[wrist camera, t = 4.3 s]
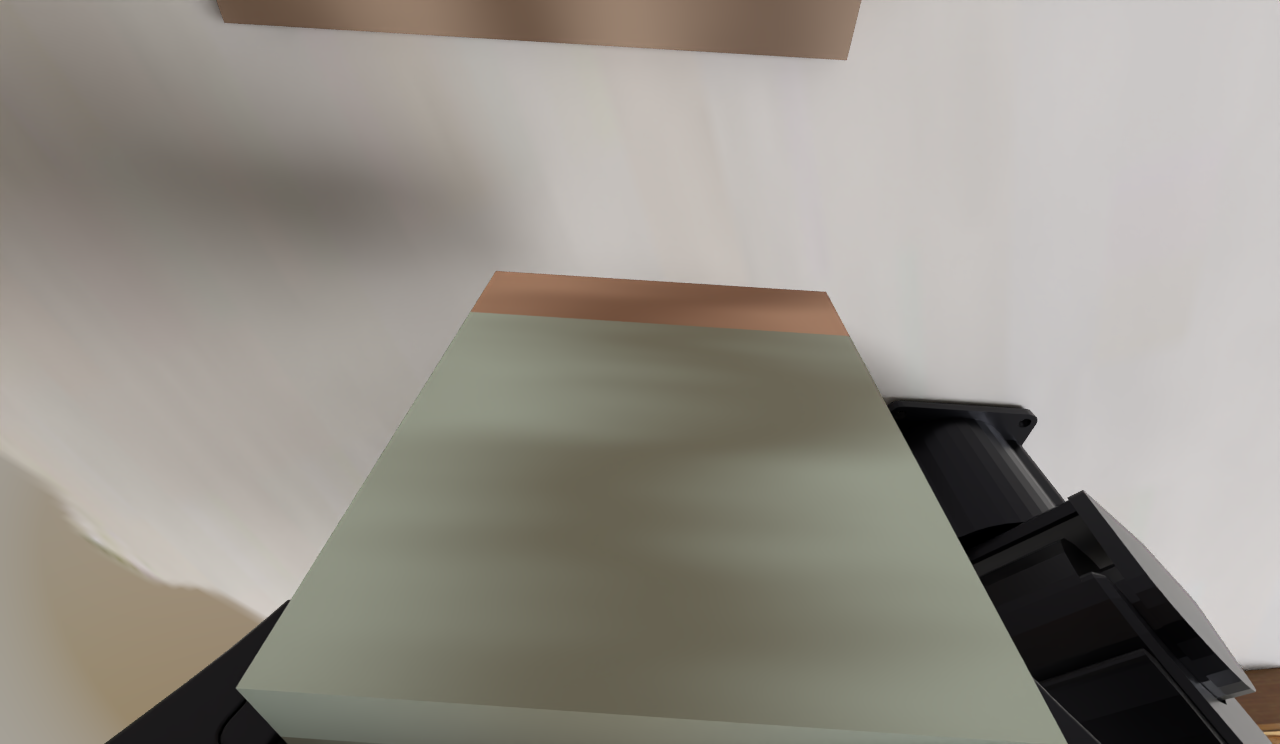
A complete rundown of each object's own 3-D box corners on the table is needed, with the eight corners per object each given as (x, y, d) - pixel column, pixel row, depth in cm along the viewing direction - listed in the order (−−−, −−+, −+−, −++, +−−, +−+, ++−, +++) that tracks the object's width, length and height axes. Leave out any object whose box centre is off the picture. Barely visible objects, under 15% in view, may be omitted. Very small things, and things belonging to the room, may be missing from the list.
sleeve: (826, 291, 9) (1067, 745, 4) (763, 507, 13) (837, 907, 7) (495, 270, 9) (236, 687, 4) (524, 491, 13) (411, 877, 7)
